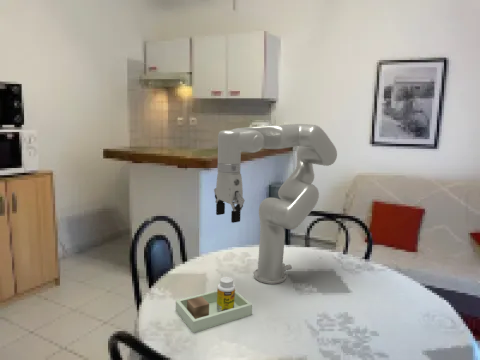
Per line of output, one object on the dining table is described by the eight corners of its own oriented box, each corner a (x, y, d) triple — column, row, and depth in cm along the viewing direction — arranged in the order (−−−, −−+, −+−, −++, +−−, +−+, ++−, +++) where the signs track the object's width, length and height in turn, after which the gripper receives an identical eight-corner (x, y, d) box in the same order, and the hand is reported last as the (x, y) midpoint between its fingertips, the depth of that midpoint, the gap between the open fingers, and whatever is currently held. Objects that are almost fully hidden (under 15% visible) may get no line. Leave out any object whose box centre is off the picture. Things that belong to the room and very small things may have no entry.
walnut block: (201, 311, 110) (201, 296, 110) (208, 319, 106) (209, 303, 105) (186, 315, 108) (187, 300, 107) (193, 323, 104) (194, 308, 103)
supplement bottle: (222, 316, 108) (223, 285, 106) (213, 307, 113) (214, 277, 111) (237, 311, 111) (238, 281, 109) (228, 303, 116) (229, 274, 114)
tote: (230, 298, 121) (231, 286, 120) (251, 316, 110) (252, 304, 109) (175, 312, 110) (175, 300, 109) (193, 335, 99) (193, 321, 99)
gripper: (253, 171, 111) (251, 223, 114) (224, 163, 125) (224, 210, 128) (233, 173, 107) (232, 227, 110) (206, 165, 121) (205, 213, 124)
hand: (227, 218), depth 119 cm, fingers open, 9 cm apart
